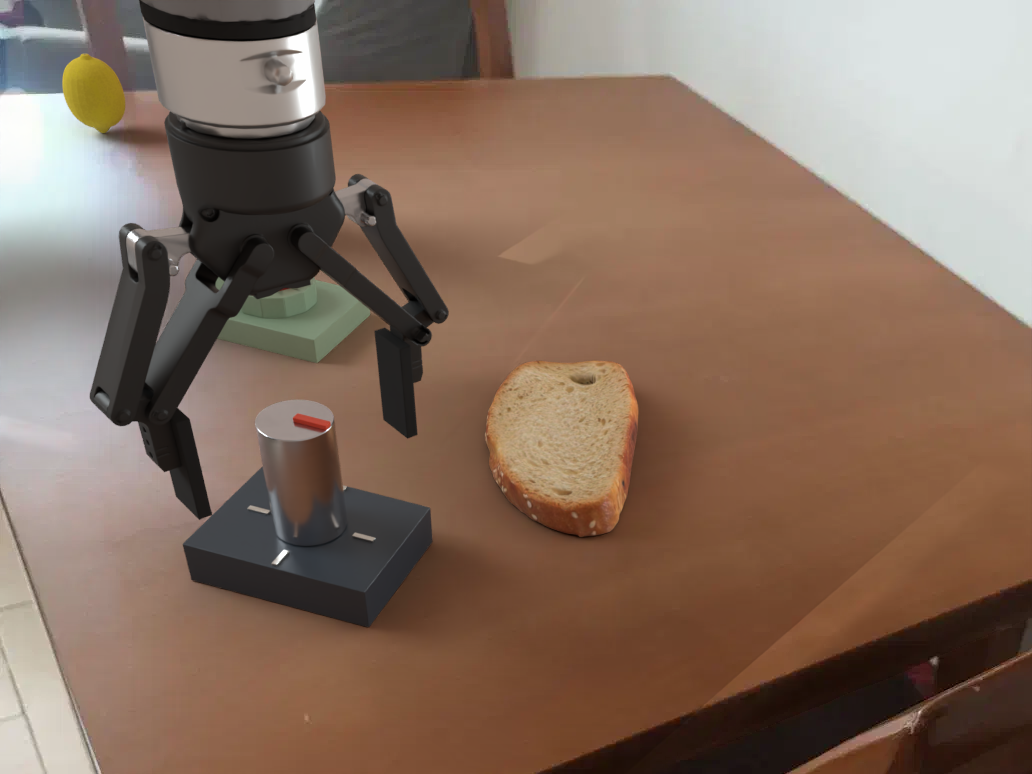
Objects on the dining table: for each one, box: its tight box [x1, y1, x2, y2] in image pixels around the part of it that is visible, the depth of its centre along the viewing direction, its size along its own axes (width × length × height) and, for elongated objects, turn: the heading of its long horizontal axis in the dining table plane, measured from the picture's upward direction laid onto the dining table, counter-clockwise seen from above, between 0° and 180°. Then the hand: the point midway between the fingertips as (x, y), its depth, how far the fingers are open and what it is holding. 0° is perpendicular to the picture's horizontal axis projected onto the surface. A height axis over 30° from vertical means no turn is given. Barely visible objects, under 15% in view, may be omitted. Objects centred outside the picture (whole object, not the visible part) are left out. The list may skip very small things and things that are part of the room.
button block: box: [216, 276, 371, 364], centre depth 93 cm, size 12×9×4 cm
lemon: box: [61, 53, 126, 134], centre depth 116 cm, size 6×6×8 cm
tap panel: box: [182, 465, 434, 628], centre depth 72 cm, size 12×9×3 cm
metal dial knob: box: [254, 399, 347, 546], centre depth 69 cm, size 4×4×8 cm
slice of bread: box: [484, 359, 639, 538], centre depth 86 cm, size 18×18×4 cm
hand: (303, 464), depth 68 cm, fingers open, 13 cm apart
